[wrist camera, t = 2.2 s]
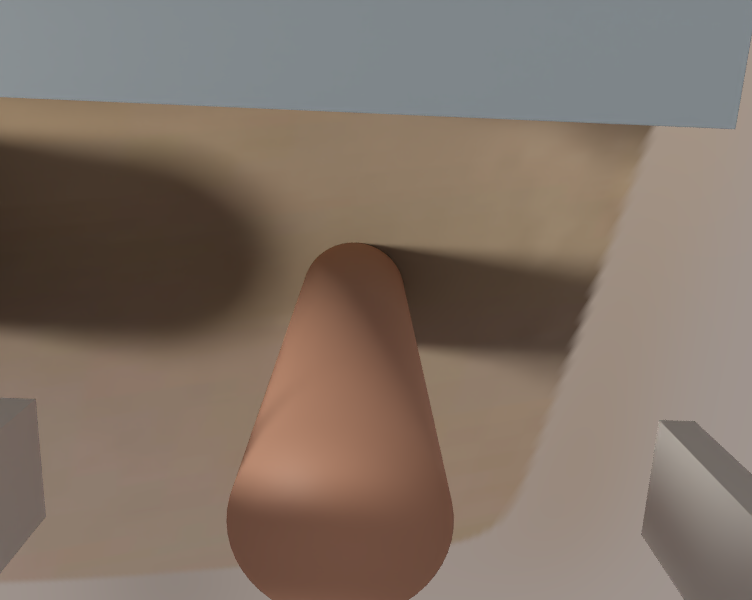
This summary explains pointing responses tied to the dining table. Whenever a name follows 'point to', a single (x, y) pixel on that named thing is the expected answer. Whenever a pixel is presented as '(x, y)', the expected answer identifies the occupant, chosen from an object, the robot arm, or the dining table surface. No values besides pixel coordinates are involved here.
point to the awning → (390, 56)
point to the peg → (344, 447)
